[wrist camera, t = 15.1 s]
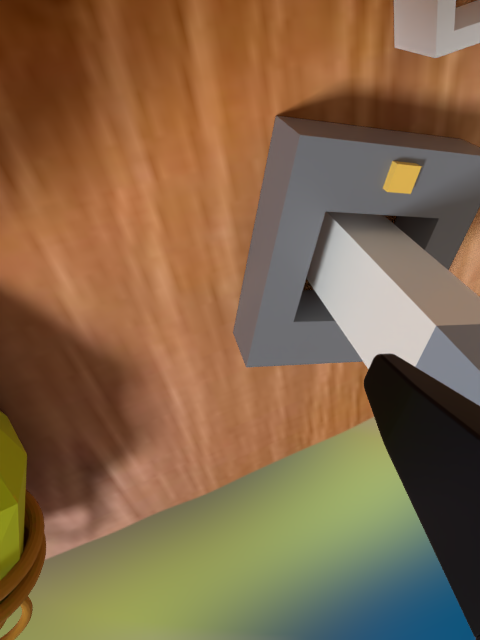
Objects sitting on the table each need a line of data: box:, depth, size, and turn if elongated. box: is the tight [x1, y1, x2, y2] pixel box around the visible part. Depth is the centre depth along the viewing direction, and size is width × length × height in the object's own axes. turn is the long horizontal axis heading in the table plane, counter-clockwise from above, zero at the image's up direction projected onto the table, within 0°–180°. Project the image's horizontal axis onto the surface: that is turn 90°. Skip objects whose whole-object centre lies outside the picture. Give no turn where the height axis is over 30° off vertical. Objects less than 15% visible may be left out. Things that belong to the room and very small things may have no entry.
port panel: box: [233, 116, 480, 367], centre depth 23 cm, size 10×12×3 cm
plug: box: [306, 212, 480, 406], centre depth 19 cm, size 3×4×13 cm
